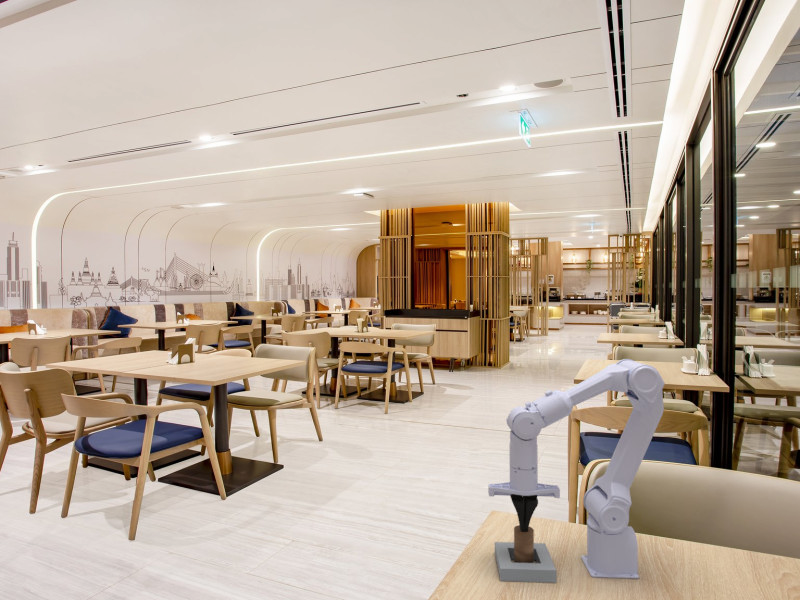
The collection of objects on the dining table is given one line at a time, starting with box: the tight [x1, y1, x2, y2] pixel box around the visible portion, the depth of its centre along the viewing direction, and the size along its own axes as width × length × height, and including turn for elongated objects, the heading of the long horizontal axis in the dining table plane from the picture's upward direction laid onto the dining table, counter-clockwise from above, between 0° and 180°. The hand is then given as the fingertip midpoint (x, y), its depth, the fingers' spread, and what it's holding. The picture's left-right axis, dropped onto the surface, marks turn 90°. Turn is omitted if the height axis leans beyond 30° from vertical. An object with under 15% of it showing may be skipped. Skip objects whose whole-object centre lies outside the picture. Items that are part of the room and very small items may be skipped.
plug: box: [513, 524, 535, 563], centre depth 109 cm, size 4×4×8 cm
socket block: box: [494, 541, 557, 584], centre depth 108 cm, size 11×11×2 cm
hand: (523, 529), depth 108 cm, fingers closed, pressing on plug
